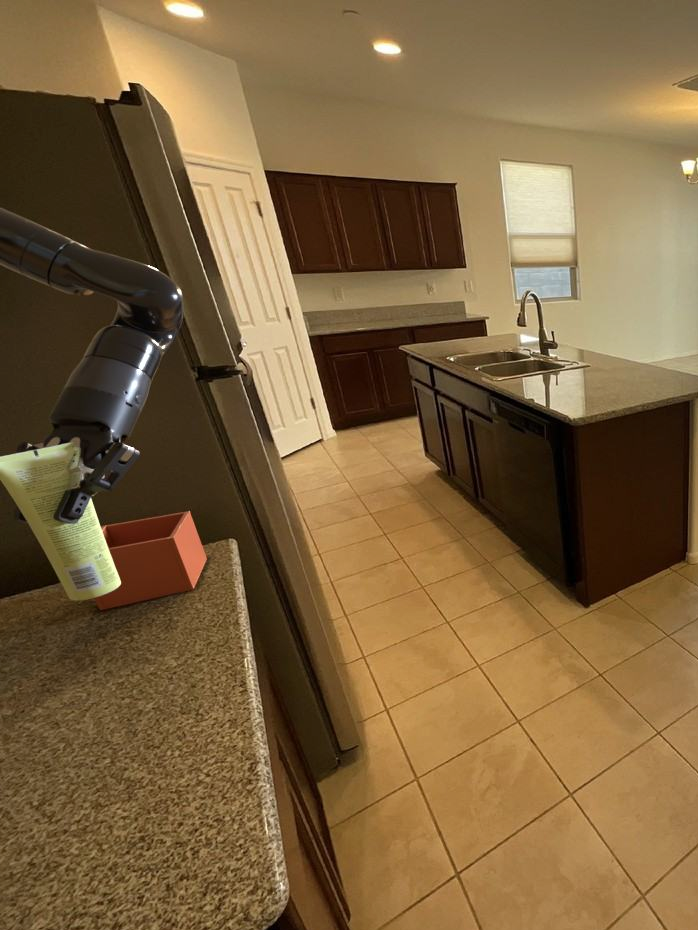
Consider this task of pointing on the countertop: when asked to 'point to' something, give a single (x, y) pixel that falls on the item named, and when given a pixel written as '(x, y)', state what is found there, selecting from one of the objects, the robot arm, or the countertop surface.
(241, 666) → the countertop surface
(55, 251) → the robot arm
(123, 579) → the trash bin
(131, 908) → the countertop surface
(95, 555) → the tube
